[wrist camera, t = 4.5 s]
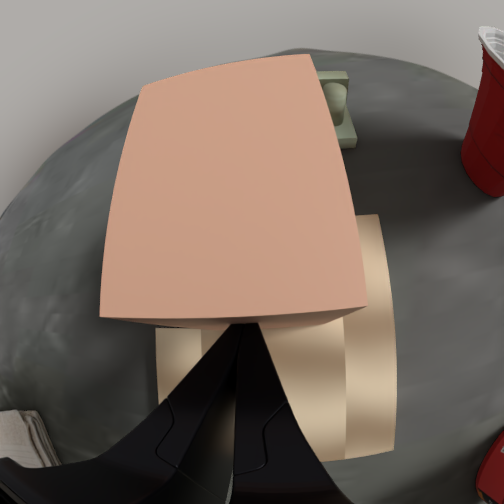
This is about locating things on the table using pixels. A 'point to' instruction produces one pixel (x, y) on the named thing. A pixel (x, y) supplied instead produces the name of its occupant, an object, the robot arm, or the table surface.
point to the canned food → (492, 474)
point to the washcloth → (26, 439)
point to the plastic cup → (487, 119)
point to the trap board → (323, 345)
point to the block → (233, 204)
